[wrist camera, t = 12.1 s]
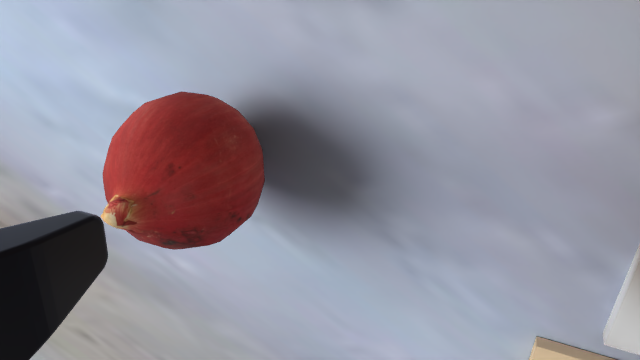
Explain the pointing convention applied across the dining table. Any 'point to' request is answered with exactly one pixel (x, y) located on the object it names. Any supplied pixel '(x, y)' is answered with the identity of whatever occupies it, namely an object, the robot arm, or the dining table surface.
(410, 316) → the dining table surface
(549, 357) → the cork pad
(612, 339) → the wooden block with plate
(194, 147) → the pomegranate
